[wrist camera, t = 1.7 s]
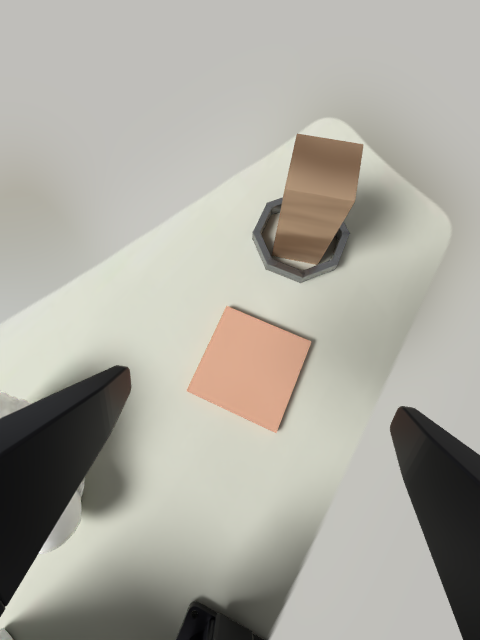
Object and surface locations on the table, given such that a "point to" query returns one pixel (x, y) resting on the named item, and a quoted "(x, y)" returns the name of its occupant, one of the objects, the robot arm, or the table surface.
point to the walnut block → (316, 196)
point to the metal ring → (286, 269)
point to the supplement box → (5, 635)
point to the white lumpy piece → (71, 516)
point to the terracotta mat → (250, 368)
